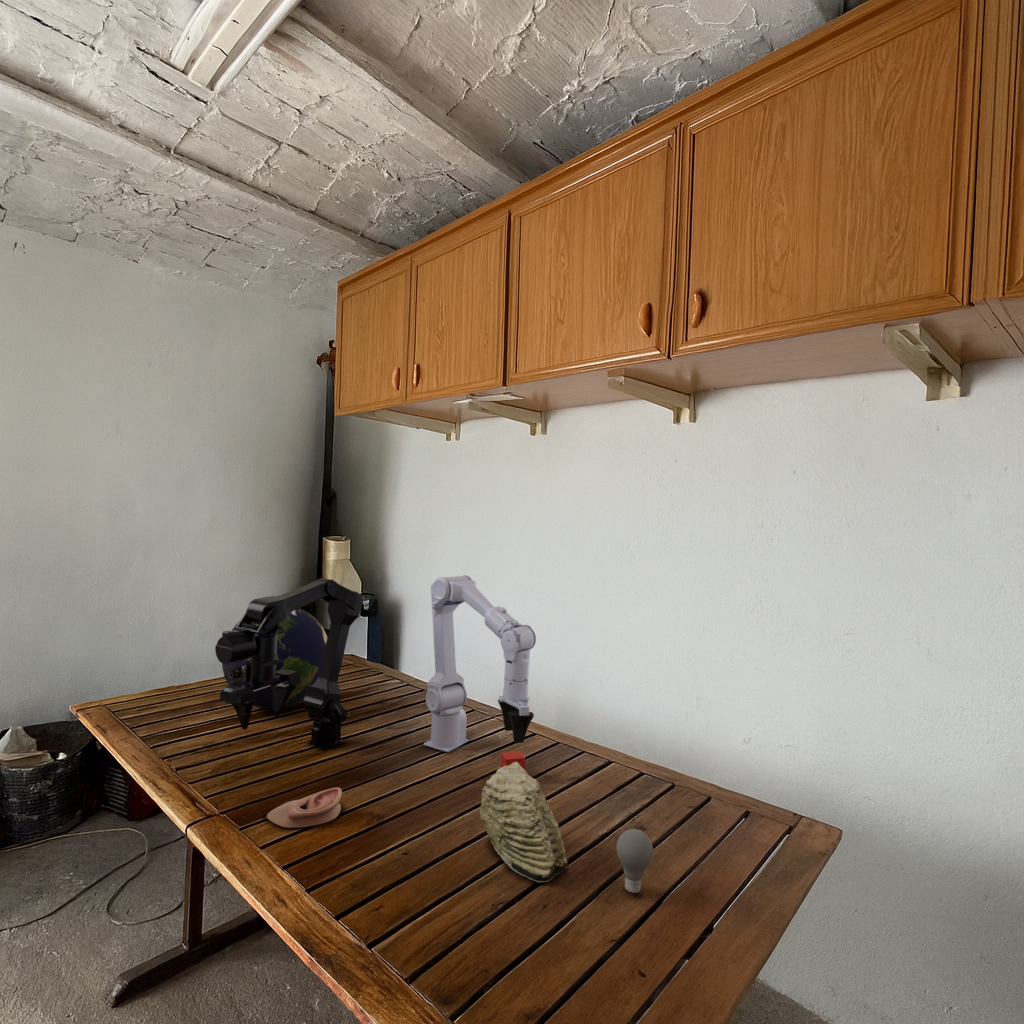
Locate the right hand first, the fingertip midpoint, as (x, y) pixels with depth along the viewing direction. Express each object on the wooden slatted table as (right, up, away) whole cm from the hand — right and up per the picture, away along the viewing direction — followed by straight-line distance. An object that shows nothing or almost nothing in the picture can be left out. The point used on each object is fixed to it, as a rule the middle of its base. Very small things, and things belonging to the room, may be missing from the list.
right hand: (514, 736), depth 148 cm
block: (0, -9, 0) cm, 9 cm away
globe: (-71, -6, +40) cm, 82 cm away
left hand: (-58, +4, -3) cm, 58 cm away
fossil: (+1, -10, -33) cm, 35 cm away
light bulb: (+20, -11, -42) cm, 48 cm away
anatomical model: (-42, -8, -22) cm, 48 cm away
